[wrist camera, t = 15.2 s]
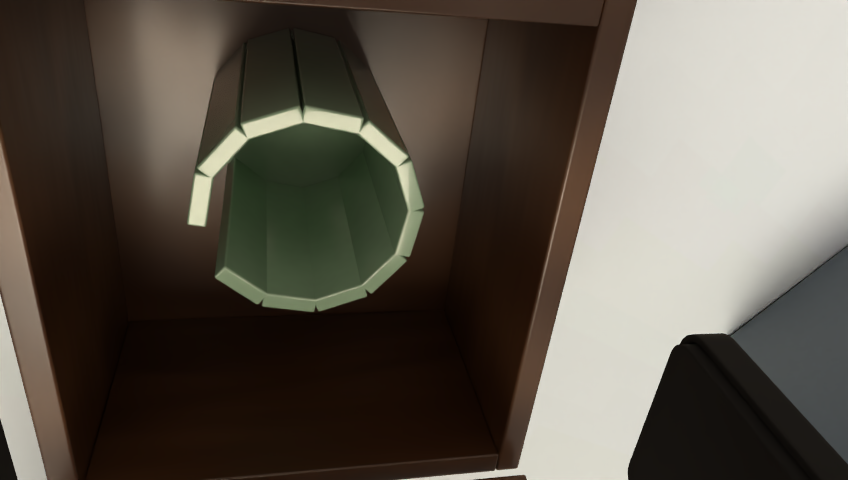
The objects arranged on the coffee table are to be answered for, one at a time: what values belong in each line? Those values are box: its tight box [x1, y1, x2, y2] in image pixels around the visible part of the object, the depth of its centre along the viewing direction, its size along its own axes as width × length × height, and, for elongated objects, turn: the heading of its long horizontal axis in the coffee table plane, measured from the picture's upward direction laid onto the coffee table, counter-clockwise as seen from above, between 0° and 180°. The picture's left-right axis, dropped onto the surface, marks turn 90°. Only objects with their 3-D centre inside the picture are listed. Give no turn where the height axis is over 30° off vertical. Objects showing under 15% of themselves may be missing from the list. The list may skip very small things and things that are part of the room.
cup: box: [187, 28, 424, 312], centre depth 17 cm, size 5×5×6 cm
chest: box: [0, 0, 637, 480], centre depth 18 cm, size 13×12×8 cm
